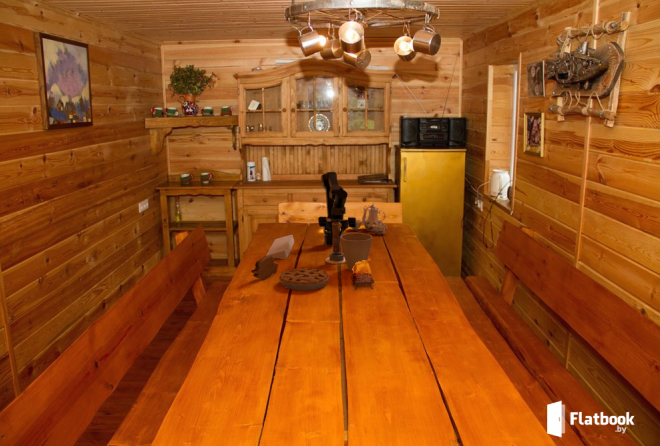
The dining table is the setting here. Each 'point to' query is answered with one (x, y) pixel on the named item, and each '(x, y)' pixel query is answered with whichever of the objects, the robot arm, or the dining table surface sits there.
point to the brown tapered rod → (336, 237)
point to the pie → (304, 278)
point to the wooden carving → (265, 268)
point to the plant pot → (355, 247)
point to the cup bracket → (336, 258)
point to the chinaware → (372, 221)
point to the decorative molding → (281, 247)
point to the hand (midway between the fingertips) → (335, 236)
